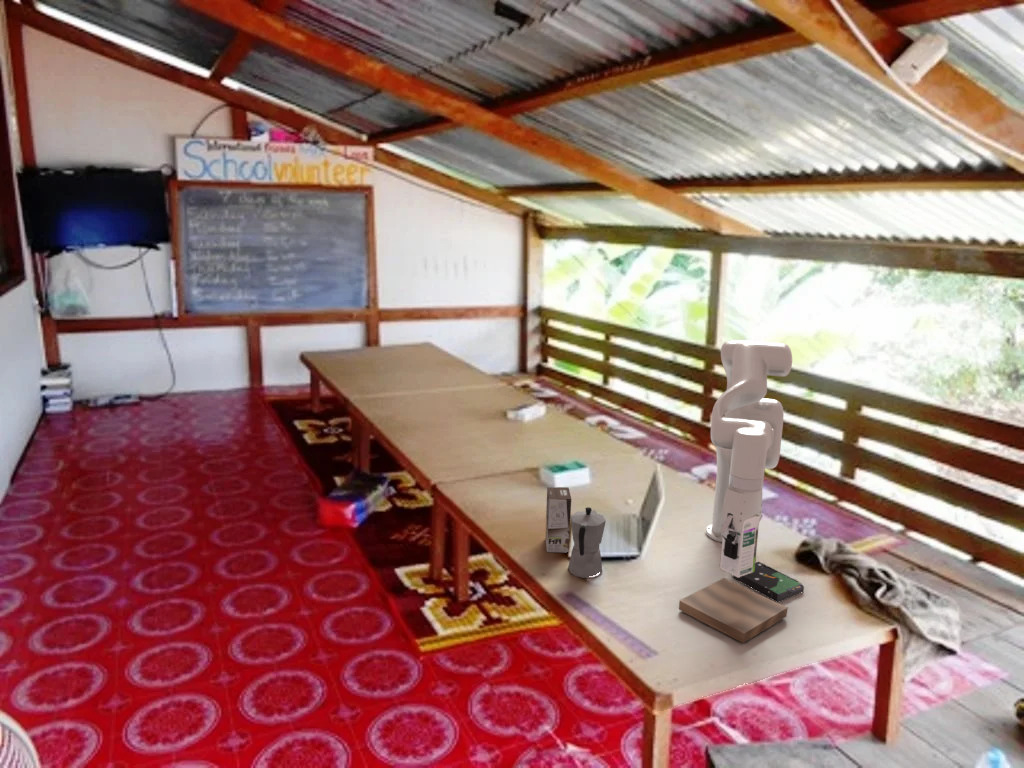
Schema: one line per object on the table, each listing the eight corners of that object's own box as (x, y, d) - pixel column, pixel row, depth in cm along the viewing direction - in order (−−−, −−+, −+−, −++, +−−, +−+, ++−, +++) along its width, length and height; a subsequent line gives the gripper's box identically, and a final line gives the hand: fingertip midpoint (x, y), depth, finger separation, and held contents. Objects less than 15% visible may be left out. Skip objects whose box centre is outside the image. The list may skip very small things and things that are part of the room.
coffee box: (569, 553, 216) (571, 499, 212) (546, 552, 216) (548, 498, 212) (567, 538, 225) (569, 486, 221) (544, 538, 225) (546, 486, 221)
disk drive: (731, 580, 204) (778, 604, 192) (732, 570, 204) (779, 594, 192) (757, 570, 210) (804, 593, 198) (758, 560, 209) (805, 583, 197)
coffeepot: (573, 556, 214) (576, 496, 209) (607, 562, 211) (610, 500, 207) (560, 583, 199) (563, 518, 195) (596, 589, 197) (600, 523, 192)
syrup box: (738, 578, 179) (744, 520, 176) (718, 568, 184) (724, 511, 180) (754, 572, 182) (761, 515, 179) (735, 562, 187) (740, 506, 184)
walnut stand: (722, 588, 198) (723, 578, 198) (786, 618, 185) (787, 607, 184) (678, 611, 187) (679, 600, 186) (742, 645, 174) (744, 633, 173)
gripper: (753, 469, 186) (745, 538, 190) (709, 485, 175) (703, 557, 179) (781, 478, 180) (773, 549, 185) (738, 495, 169) (730, 570, 174)
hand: (738, 552), depth 182 cm, fingers closed on syrup box, 6 cm apart
